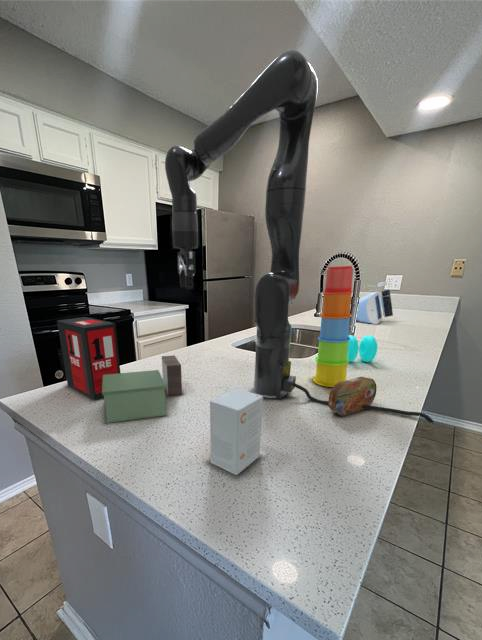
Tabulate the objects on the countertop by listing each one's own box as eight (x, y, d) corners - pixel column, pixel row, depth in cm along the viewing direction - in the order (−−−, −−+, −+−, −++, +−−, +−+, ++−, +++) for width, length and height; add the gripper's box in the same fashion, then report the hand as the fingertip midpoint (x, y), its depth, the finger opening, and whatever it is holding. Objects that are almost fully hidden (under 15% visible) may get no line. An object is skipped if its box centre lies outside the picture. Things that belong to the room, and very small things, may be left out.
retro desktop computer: (388, 279, 199) (391, 280, 185) (393, 316, 205) (396, 320, 190) (344, 290, 210) (344, 292, 196) (350, 325, 216) (350, 329, 201)
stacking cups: (329, 390, 95) (346, 266, 83) (306, 379, 104) (319, 265, 92) (354, 385, 99) (375, 265, 87) (330, 375, 108) (345, 265, 96)
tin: (333, 418, 78) (338, 386, 75) (323, 413, 81) (328, 382, 78) (374, 406, 84) (380, 376, 81) (364, 402, 87) (369, 373, 84)
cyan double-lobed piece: (375, 365, 118) (381, 338, 114) (348, 365, 118) (352, 338, 115) (363, 357, 127) (368, 332, 124) (338, 357, 127) (342, 332, 124)
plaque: (163, 384, 100) (161, 356, 97) (176, 382, 101) (175, 355, 98) (168, 396, 91) (166, 366, 88) (182, 394, 92) (181, 364, 89)
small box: (234, 445, 67) (235, 387, 62) (260, 456, 63) (264, 395, 58) (209, 463, 61) (209, 400, 56) (236, 476, 57) (238, 410, 52)
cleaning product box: (67, 385, 99) (56, 320, 92) (94, 378, 105) (85, 316, 98) (94, 400, 89) (84, 328, 82) (122, 391, 95) (115, 323, 88)
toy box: (160, 396, 91) (158, 369, 88) (167, 415, 80) (165, 385, 77) (106, 402, 87) (102, 374, 84) (105, 423, 76) (101, 392, 73)
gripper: (203, 228, 88) (204, 289, 94) (192, 232, 101) (192, 286, 107) (177, 228, 86) (179, 290, 92) (168, 232, 99) (170, 286, 105)
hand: (186, 288), depth 100 cm, fingers open, 8 cm apart
